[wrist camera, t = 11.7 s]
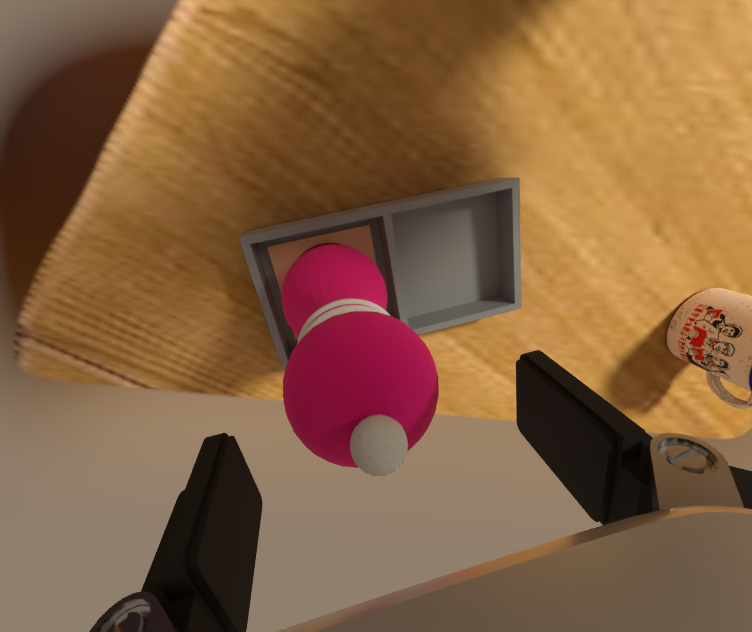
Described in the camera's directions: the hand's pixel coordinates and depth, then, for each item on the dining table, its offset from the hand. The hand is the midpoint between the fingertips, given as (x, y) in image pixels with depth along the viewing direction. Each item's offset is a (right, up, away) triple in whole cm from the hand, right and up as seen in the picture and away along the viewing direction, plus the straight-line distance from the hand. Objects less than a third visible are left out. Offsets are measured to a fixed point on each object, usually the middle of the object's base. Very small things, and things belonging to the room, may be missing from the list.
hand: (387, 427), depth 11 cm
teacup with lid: (+36, +1, +29) cm, 46 cm away
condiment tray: (+1, +8, +18) cm, 20 cm away
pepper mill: (-4, +6, +17) cm, 19 cm away
